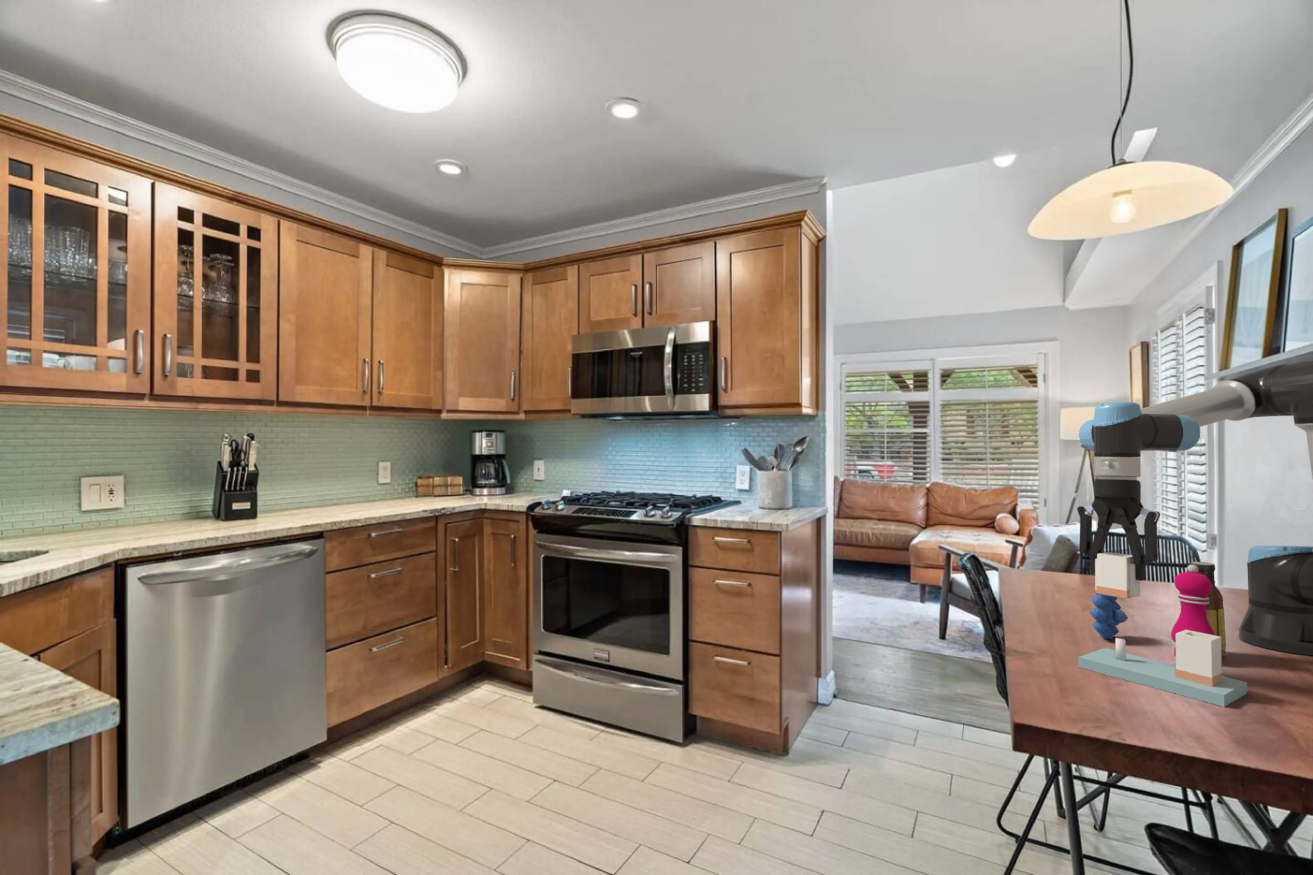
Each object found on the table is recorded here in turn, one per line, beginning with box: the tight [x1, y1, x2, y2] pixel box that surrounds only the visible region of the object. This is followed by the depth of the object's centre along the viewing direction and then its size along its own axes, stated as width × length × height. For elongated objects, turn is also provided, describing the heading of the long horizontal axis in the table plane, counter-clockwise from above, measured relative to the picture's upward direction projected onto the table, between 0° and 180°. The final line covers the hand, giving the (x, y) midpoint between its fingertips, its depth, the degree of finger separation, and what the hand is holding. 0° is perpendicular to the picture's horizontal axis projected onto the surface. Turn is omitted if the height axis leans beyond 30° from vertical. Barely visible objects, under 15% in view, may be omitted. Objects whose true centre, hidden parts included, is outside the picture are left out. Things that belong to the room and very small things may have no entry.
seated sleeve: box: [1175, 630, 1224, 687], centre depth 109 cm, size 5×5×8 cm
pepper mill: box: [1170, 564, 1215, 658], centre depth 126 cm, size 7×7×20 cm
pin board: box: [1077, 637, 1248, 708], centre depth 114 cm, size 12×22×6 cm, turn 32°
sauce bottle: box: [1189, 561, 1227, 658], centre depth 130 cm, size 7×6×20 cm
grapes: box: [1089, 592, 1129, 640], centre depth 139 cm, size 12×7×12 cm, turn 123°
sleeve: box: [1095, 551, 1134, 599], centre depth 120 cm, size 5×5×8 cm
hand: (1117, 592), depth 120 cm, fingers closed on sleeve, 5 cm apart
